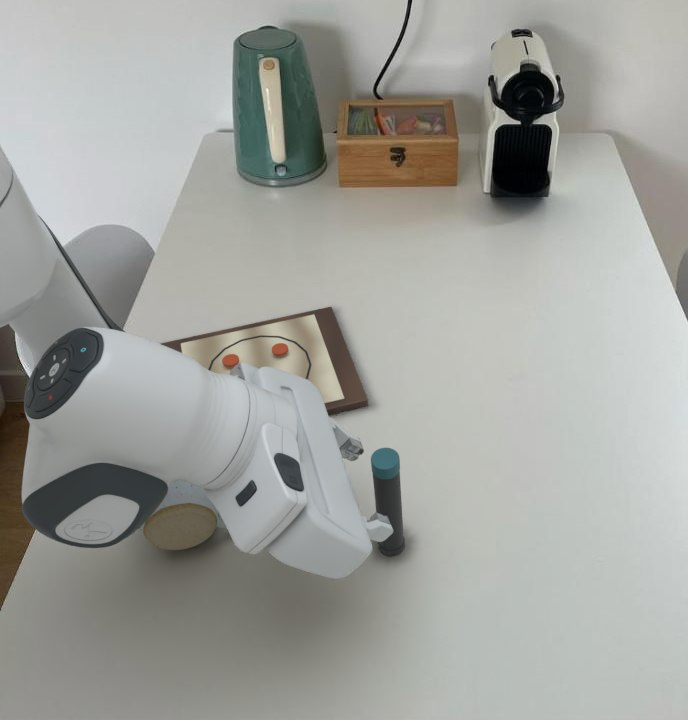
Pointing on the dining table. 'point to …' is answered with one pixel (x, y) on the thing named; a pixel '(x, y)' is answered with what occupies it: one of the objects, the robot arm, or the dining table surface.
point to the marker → (388, 497)
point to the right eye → (279, 349)
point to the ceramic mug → (182, 518)
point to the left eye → (230, 360)
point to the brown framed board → (304, 357)
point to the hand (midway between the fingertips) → (371, 488)
